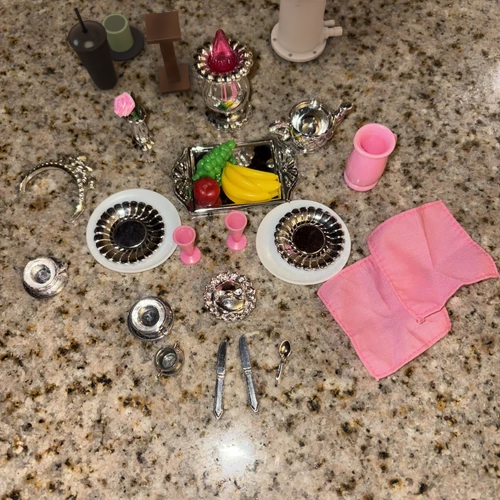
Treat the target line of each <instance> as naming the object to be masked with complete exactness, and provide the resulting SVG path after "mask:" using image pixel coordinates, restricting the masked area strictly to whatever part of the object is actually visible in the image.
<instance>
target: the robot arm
mask: <svg viewBox="0 0 500 500" xmlns="http://www.w3.org/2000/svg"><path fill="white" fill-rule="evenodd" d="M326 6H327V0H280V1H279V13H278V22H277V23H276V24H275V25H274V26H273V28H272V30H271V34H270V43H271V47H272V49H273V50H274V52H275V53H276V54H277V55H278V56H279V57H280V58H282V59H284V60H286V61H289V62H292V63H305V62H310V61H312V60H315V59H316V58H318V57H319V56H321V54H322V53H323V51H325V48H326V44H327V40H328V39H329V37H341V36H342V35H343V27H342V26H335V23H336V22H335V19H327V20H324V17H325V12H326V11H325V10H326Z"/></svg>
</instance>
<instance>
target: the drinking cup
mask: <svg viewBox="0 0 500 500" xmlns="http://www.w3.org/2000/svg"><path fill="white" fill-rule="evenodd" d="M73 11H74V13H75V16H76V18H77V20H78V22H77V23H75V24H74V25H72V26H71V28H70V29H69V31H68V33H67V42H68V45H69V46H70V47H71V49H72V50H74V52H75V54H76V55H77V57H78V58H79V60H80V61H81V63H82V65H83V67H84V68H85V70H86V71H87V73H88V75H89V76H90V78H91V79H92V81H93V82H94V85H95V86H96V87H97V88H98V89H99V90H101V91H109V90H112V89H113V88H114V87H115V86H116V85H117V83H118V77H117V73H116V69H115V65H114V60H112V57H111V53H110V49H109V45H108V41H107V32H106V29H105V27H104V26H103V25H102V22H99V21H96V20H94V19H93V20H92V19H87V20H83V18H82V16H81V13H80V11H79V8H78V7H74V9H73Z"/></svg>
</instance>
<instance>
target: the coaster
mask: <svg viewBox="0 0 500 500" xmlns="http://www.w3.org/2000/svg"><path fill="white" fill-rule="evenodd" d="M129 27H130V30H131V33H132V37H133V45H132V47H131V48H130V49H129V50H127V51H124V52H116V51H114V50H112V49H111V48H110V46H109V49H110V53H111V57H112V61H115V62H125V61H130V60H132V59H134V58H135V57H137V56H138V55H139V54H140V53H141V52H142V51H143V48H144V45H145V39H144V35H143V33H142V32H141V31H140V30H139V29H138V28H137V27H135V26H133V25H129ZM108 45H109V43H108Z"/></svg>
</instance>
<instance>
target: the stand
mask: <svg viewBox="0 0 500 500" xmlns="http://www.w3.org/2000/svg"><path fill="white" fill-rule="evenodd" d="M143 15H144V28H145V39H146V45H148V46H149V45H156V44H158V46H159V50H160V53H161V58H162V62H163V65H164V66H160V67H158V70H157V71H158V79H159V81H158V82H159V90H160V95H169V94H178V93H186V92H187V93H188V92H191V91H192V90H191V89H192V88H191V81H190V73H189V65H188V63H186V64H179V63H178V58H177V54H176V53H177V52H176V49H175V43H176V42H180V41H182V32H181V24H180V15H179V11H178V10H173V11H171V10H170V11H162V12H155V13H153V12H152V13H146V14H145V13H144V14H143ZM174 42H175V43H174Z"/></svg>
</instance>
